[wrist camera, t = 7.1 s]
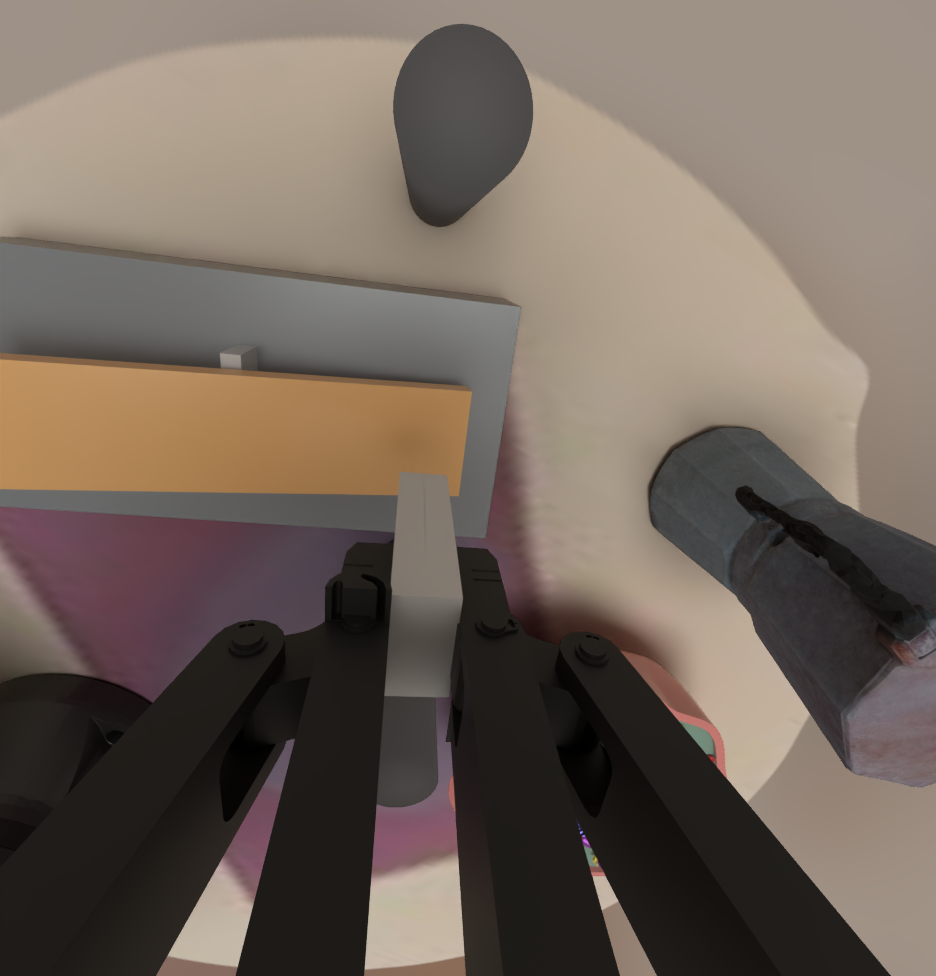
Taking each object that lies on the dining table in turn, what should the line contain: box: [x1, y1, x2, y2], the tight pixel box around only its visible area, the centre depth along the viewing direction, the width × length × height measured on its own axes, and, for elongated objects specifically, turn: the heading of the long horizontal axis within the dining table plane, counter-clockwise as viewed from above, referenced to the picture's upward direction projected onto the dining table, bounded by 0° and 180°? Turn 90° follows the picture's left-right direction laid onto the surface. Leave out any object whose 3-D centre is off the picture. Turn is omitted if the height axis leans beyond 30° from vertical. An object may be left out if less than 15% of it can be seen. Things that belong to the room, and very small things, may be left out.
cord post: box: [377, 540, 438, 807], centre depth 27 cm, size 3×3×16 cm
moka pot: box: [650, 428, 936, 787], centre depth 25 cm, size 10×15×20 cm, turn 50°
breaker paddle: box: [0, 353, 472, 496], centre depth 21 cm, size 20×5×1 cm, turn 83°
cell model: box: [449, 650, 727, 876], centre depth 35 cm, size 17×20×11 cm
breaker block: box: [0, 237, 521, 538], centre depth 25 cm, size 24×12×7 cm, turn 83°
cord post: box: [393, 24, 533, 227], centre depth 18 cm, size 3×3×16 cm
